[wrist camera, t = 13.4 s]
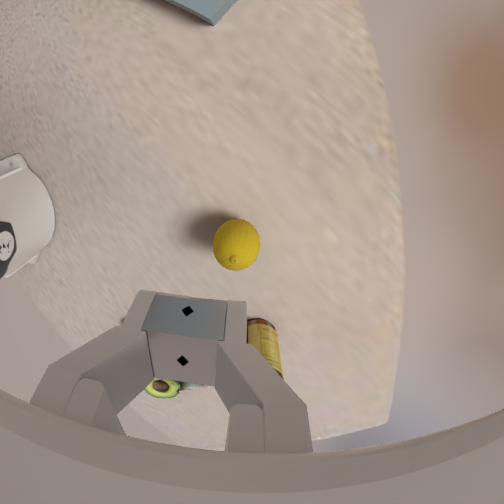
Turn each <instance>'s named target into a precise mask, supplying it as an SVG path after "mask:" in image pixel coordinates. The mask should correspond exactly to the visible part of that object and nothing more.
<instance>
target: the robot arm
mask: <svg viewBox="0 0 504 504" xmlns="http://www.w3.org/2000/svg"><path fill="white" fill-rule="evenodd" d="M12 164H13V165H12ZM54 227H55V216H54V209H53V205H52V201H51V198H50V196H49V193H48V191H47V189H46V188H45V186H44V184H43V183H42V182H41V180H40V179H39V178H38V177H37V176H36V175H35V174H34V173H33V172H32V171H31V170H30V169H29V168H28V167H27V165H26V163H25V161H24V159H23V157H22V156H21V155H20V154H15V155H12V156H10V157H7V158H5V159H3V160H0V279H1V278H2V277H3V276H5V277H9V276H10V275H12V274H13V273H14V272H15V271H17V270H18V269H19V268H21V267H22V266H23V265H25V264H26V263H29V264H33V263H35V262H36V261H37V260H38V257H39V254H40V251H41V250H42V249H43V248H45V247H46V246H47V245H48V244H49V242H50V241H51V239H52V236H53V233H54ZM226 312H227V313H226ZM225 323H226V324H225ZM246 339H247V303H246V302H245V301H230V300H228V303H227V301H224V300H214V299H204V298H195V297H189V296H182V295H175V294H168V293H161V292H154V291H147V290H140V291H139V292H138V293H137V295H136V297H135V299H134V301H133V303H132V305H131V307H130V309H129V311H128V313H127V315H126V317H125V319H124V321H123V323H122V325H121V327H118V326H115V327H114V328H112V329H110V330H108V331H107V332H105V333H103V334H102V335H100V336H98V337H96V338H95V339H93V340H91V341H90V342H88V343H86V344H84V345H83V346H81V347H79V348H78V349H76V350H74V351H73V352H71V353H69V354H67V355H66V356H64V357H62V358H61V359H59V360H58V361H56V362H54V363H52V364H51V365H49V367H48V368H47V370H46V372H45V374H44V375H43V377H42V379H41V381H40V383H39V385H38V387H37V389H36V391H35V393H34V395H33V397H32V399H31V401H30V403H28V402H25V401H23V400H21V399H19V398H17V397H14V396H12V395H10V394H8V393H6V392H4V391H2V390H0V504H504V409H502V410H500V411H497V412H495V413H492V414H490V415H487V416H485V417H482V418H479V419H476V420H474V421H471V422H468V423H465V424H462V425H459V426H456V427H453V428H449V429H446V430H442V431H439V432H435V433H431V434H428V435H424V436H420V437H416V438H411V439H407V440H402V441H397V442H392V443H386V444H381V445H375V446H369V447H362V448H354V449H345V450H336V451H325V452H313V449H312V441H311V434H310V427H309V420H308V413H307V406H306V404H305V403H304V402H303V401H302V400H301V399H300V398H299V397H298V395H297V394H296V393H295V392H294V391H293V390H292V389H291V388H290V387H289V386H288V384H287V383H286V382H285V381H284V380H283V379H282V378H281V377H280V376H279V374H278V373H277V372H276V371H275V370H274V369H273V368H272V366H271V365H270V364H269V363H268V362H267V361H266V360H265V358H264V357H263V356H262V355H261V354H260V353H259V352H258V350H257V349H256V348H255V347H254V346H253V344H247V343H246ZM154 378H159V379H166V380H174V381H182V382H189V383H195V384H202V385H210V386H215V389H216V391H217V393H218V394H219V396H220V398H221V400H222V401H223V403H224V405H225V406H226V408H227V410H228V412H229V413H230V416H229V423H228V430H227V437H226V445H225V451H215V450H206V449H197V448H189V447H182V446H176V445H169V444H164V443H158V442H153V441H148V440H143V439H138V438H134V437H130V436H126V434H125V432H124V430H123V428H122V426H121V424H120V422H119V419H118V417H117V414H118V413H119V412H120V411H121V410H122V409H123V408H124V407H125V406H126V405H128V404H129V403H130V402H131V401H132V400H133V399H134V398H135V397H136V396H137V395H138V394H139V393H140V392H142V391H143V390H144V389H145V388H146V387H147V386H148V385H149V384H150V383H151V382H152V381H153V380H154Z"/></svg>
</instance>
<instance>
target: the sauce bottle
mask: <svg viewBox="0 0 504 504" xmlns="http://www.w3.org/2000/svg"><path fill="white" fill-rule="evenodd" d="M246 343H247V344H253V346H254V347H255V348H256V349H257V350H258V352H259V353H260V354H261V355H262V356H263V357H264V358H265V360H266V361H267V362H268V363H269V364H270V365H271V366H272V368H273V369H274V370H275V371H276V372H277V373H278V374H279V376H280V377H281V378H282V379H283V380H284V378H283V371H282V364H281V357H280V349H279V342H278V335H277V333H276V330H275V327H274V326H273V325H272V324H271V323H270V322H268V321H266V320H263V319H255V320H251V321H248V322H247V339H246Z"/></svg>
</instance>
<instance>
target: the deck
mask: <svg viewBox="0 0 504 504" xmlns="http://www.w3.org/2000/svg"><path fill="white" fill-rule="evenodd" d="M164 1H166V2H168V3H170V4H173V5H175V6H177V7H179V8H181V9H183V10H185V11H187V12H189V13H191V14H193V15H195V16H197V17H198V18H200V19H202V20H204V21H206V22H208V23H210V24H211V25H213V26H214V25H215V24H216V23H217V22H218V21H219V20H220V19H221V17H222V16H223V15H224V14H225V13H226V12H227V11H228V10H229V9H230V8H231V7H232V5H233V4H234V3H235V2H236V1H237V0H164Z"/></svg>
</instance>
